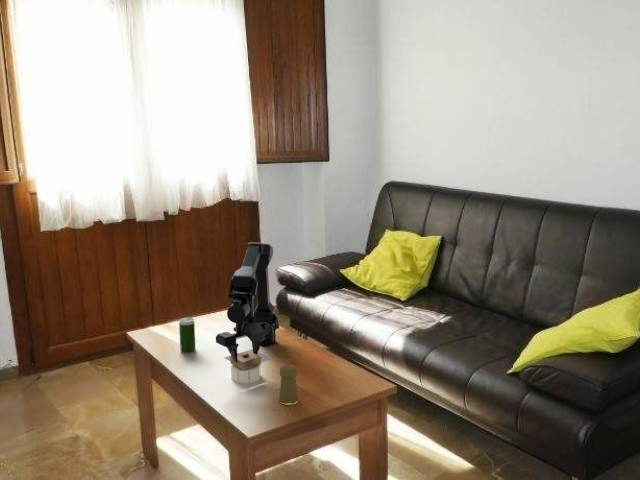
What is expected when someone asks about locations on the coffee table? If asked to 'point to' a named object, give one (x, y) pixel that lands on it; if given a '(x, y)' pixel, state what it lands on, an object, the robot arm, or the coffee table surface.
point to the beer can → (187, 335)
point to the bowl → (245, 374)
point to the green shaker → (288, 384)
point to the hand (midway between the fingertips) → (245, 359)
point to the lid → (246, 360)
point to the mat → (263, 357)
